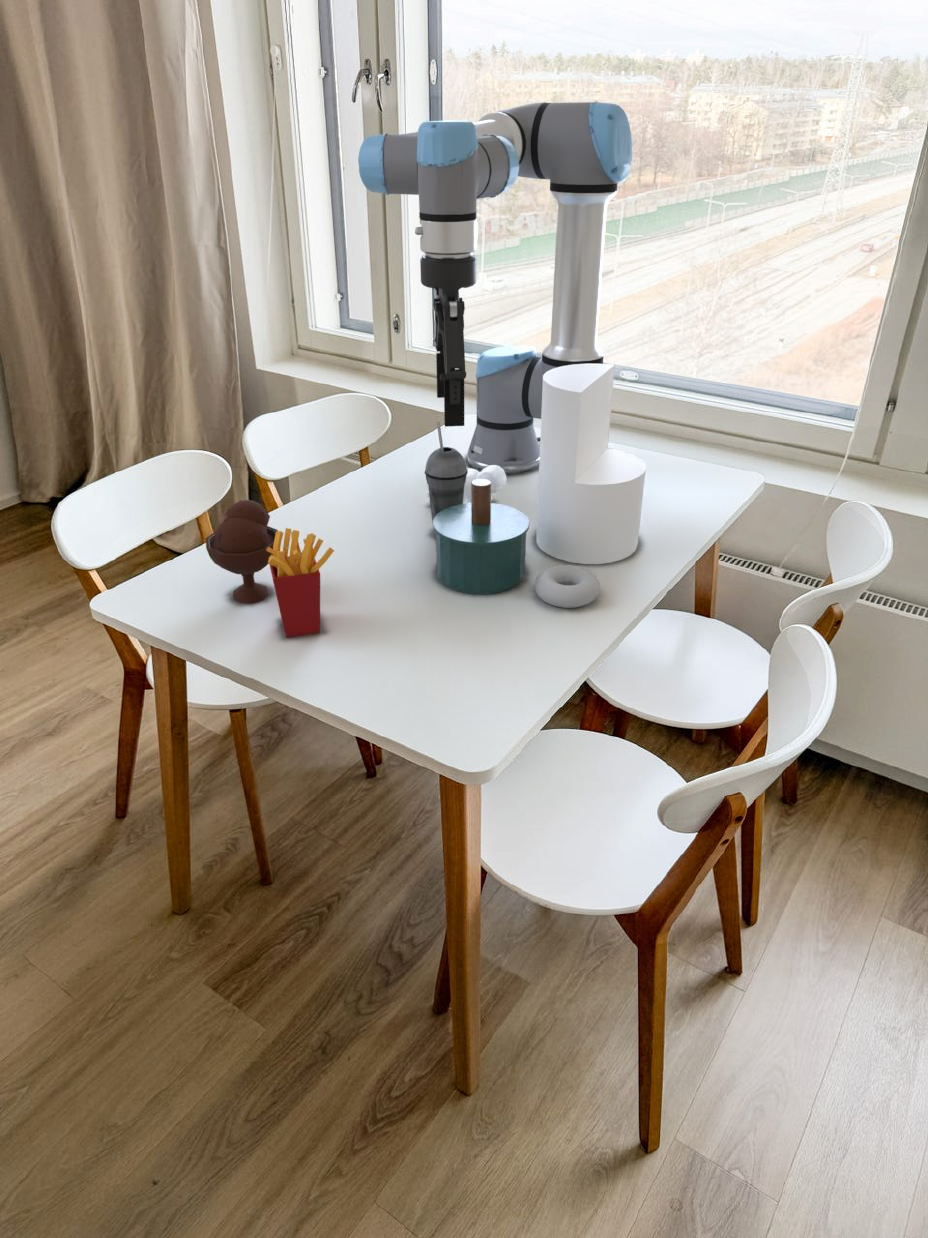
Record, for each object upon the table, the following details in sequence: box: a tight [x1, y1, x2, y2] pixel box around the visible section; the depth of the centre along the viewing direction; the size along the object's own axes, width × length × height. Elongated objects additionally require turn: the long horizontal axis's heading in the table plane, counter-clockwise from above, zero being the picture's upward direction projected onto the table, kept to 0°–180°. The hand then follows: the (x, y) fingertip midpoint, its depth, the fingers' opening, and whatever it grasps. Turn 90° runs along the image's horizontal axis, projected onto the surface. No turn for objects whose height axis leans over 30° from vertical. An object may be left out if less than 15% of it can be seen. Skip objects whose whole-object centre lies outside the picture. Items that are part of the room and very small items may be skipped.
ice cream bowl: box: [205, 499, 279, 604], centre depth 131 cm, size 11×11×15 cm
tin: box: [435, 532, 527, 595], centre depth 138 cm, size 14×14×8 cm
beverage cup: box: [424, 421, 468, 537], centre depth 148 cm, size 7×7×20 cm
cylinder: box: [535, 363, 647, 565], centre depth 143 cm, size 17×17×28 cm
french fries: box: [266, 527, 335, 638], centre depth 123 cm, size 9×8×15 cm
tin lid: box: [432, 479, 530, 546], centre depth 134 cm, size 15×15×8 cm
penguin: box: [426, 465, 507, 504], centre depth 161 cm, size 9×8×15 cm
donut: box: [533, 564, 601, 609], centre depth 133 cm, size 10×4×10 cm
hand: (450, 410), depth 127 cm, fingers open, 13 cm apart
